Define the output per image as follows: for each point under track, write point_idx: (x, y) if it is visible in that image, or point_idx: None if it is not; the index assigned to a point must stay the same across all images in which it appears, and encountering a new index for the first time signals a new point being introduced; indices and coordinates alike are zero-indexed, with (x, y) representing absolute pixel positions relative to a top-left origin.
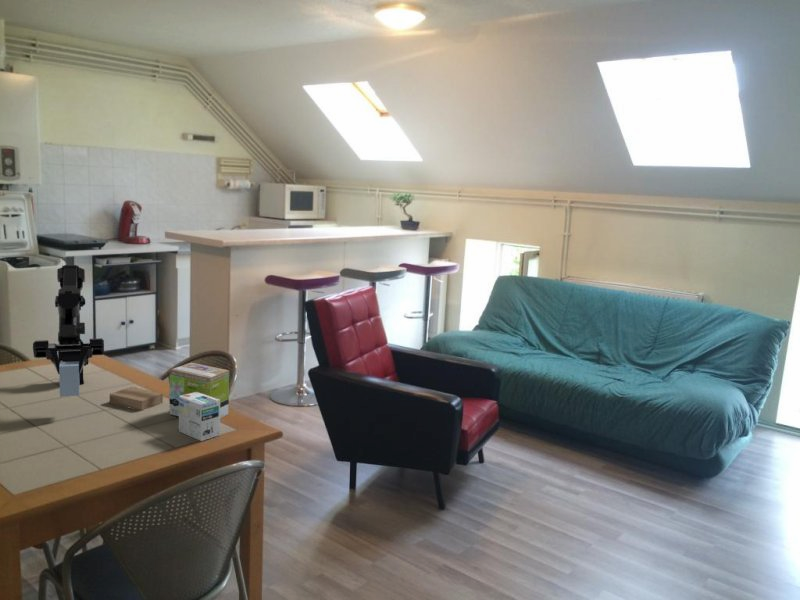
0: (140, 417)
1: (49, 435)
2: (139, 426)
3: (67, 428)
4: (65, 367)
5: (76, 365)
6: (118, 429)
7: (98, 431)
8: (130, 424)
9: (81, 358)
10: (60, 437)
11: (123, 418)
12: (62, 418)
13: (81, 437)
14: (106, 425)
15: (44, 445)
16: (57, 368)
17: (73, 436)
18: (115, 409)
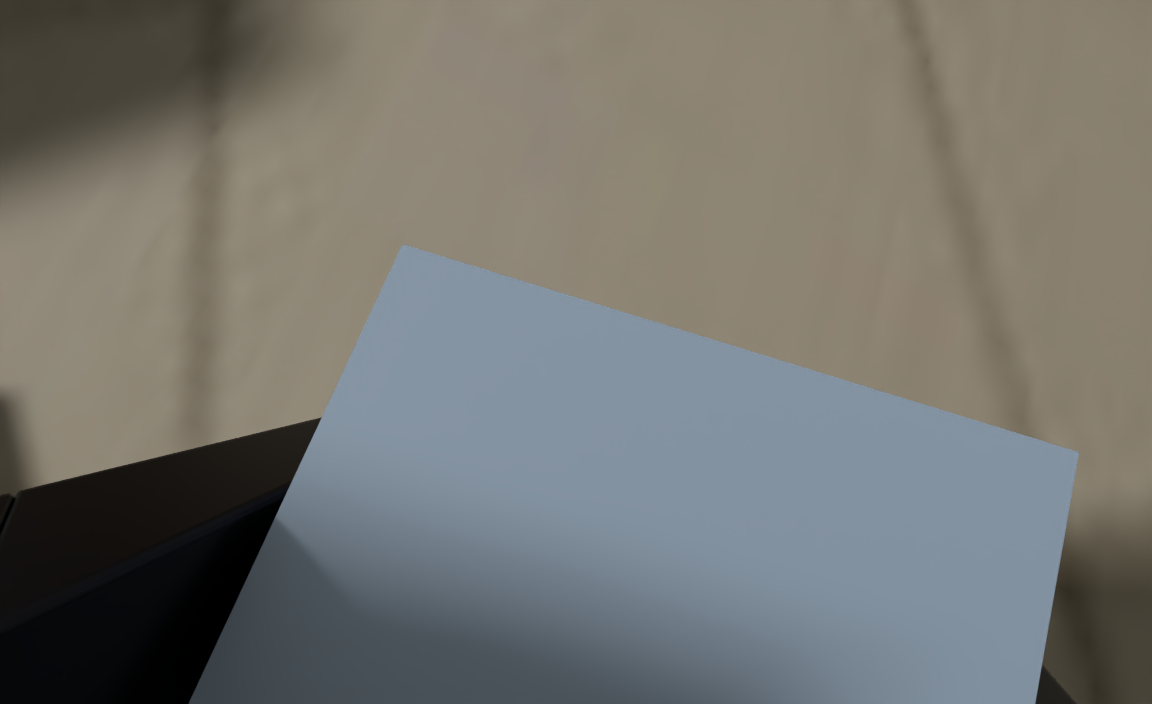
0: (35, 216)
1: (968, 202)
2: (188, 11)
3: (766, 295)
4: (835, 398)
5: (456, 299)
6: (371, 34)
7: (539, 75)
8: (221, 92)
9: (6, 559)
10: (884, 105)
11: (179, 277)
12: None
13: (718, 18)
14: (411, 179)
15: (1046, 3)
16: (1062, 701)
17: (773, 72)
18: None
